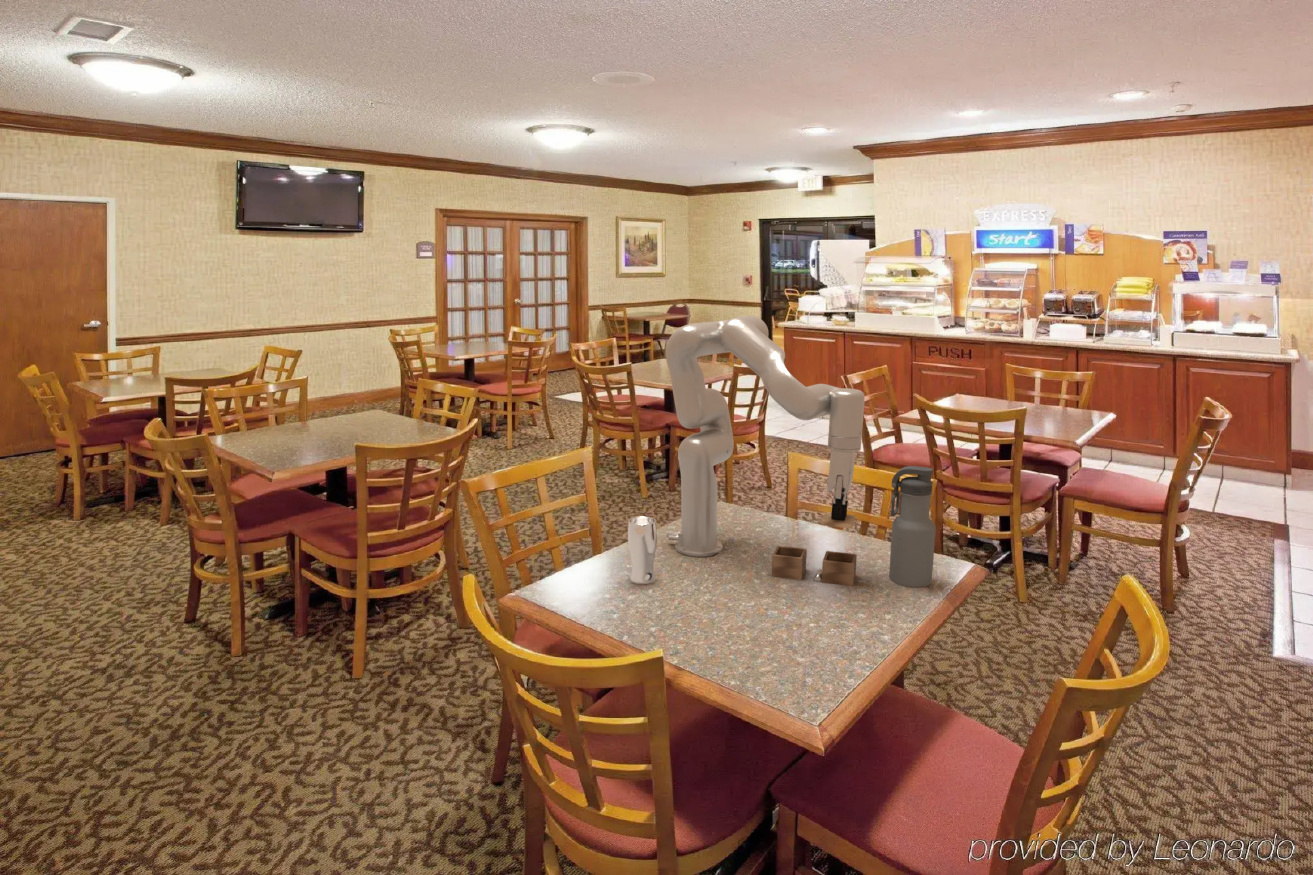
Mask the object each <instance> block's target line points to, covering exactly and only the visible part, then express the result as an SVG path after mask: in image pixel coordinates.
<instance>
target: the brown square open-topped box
mask: <svg viewBox="0 0 1313 875" xmlns="http://www.w3.org/2000/svg"><path fill="white" fill-rule="evenodd" d="M857 557H858V554H857V553H850V552H849V553H848V552H841V551H840V552H839V551H833V550H826V552H825V554H824V557H823V558H822V564H821V565H822V567H821V568H822V569H821V570H822V582H821V583H822V584H830V585H838V586H839V585H840V586H848V587H854V584H855V579H856V576H857Z"/></svg>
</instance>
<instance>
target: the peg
mask: <svg viewBox="0 0 1313 875" xmlns="http://www.w3.org/2000/svg"><path fill="white" fill-rule="evenodd" d="M812 582H815V583H816V582H817V583H822V569H818V570H816V572H815V575H814V577H813V580H812Z"/></svg>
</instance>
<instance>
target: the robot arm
mask: <svg viewBox="0 0 1313 875" xmlns="http://www.w3.org/2000/svg"><path fill="white" fill-rule="evenodd" d="M769 335H770V334H769V329H768V326H767V324H766V323H765V321H764V320H762V319H761V318H760V317H758V316H755V315H746V316H737V317H732V318H731V319H725V320H716V321H706V322H704V321H703V322H695V323H689V324H685V325H683V326H681V327H679V328H677V329H676V330H675V331H674V332H673V333H672V334H671V335H670V336H669V338H668V341H667V343H666V345H665V346H666V348H665V357H666V358H665V359H666V363H667V364H666V365H667V368H668V371H669V376H670V381H671V387H672V388H671V389H672V394H673V399H674V405H675V412H676V417H677V420H678V422H679V424H680V425H681V426H682V427H684V428H685V429H689V430H690V429H691V430H692V429H697V428H698V429H699V428H700V432H696V433H692V434H690V435H688V436H687V437H685V438H684V439H683V440H682V441H681V443H679V446H678V449H677V459H678V464H679V465H678V466H679V471H680V481H681V482H680V483H681V485H680V486H681V487H680V488H681V489H680V490H681V492H680V493H681V498H680V500H681V502H680V504H681V512H680V513H681V517H680V518H681V519H680V520H681V521H680V522H681V530H678V531H674V530H667V531H666V537H667V538H668V540H669V541H676V543H675V550H676V552H678V553H680V554H681V555H685V556H688V557H699V558H701V557H703V558H704V557H705V558H706V557H711V556H714V555H715V556H716V555H718V554H719V553H720V552H722V551H723V546H724V545H723V543H721V541H719V540H718V479H717V475H716V473H715V470H714V466H716V465H719V464H721V463H724V462H726V461H727V460H728V459H729V458H730V457H732V455H733V452H734V445H735V444H734V443H735V442H734V435H733V429H732V423H731V415H730V410H729V409H730V408H729V406H728V403H727V400H726V398H725V397H724V395H723V394H722V393H721V392H720V391H719V390H717V389H715V388H709V387H708V388H706V383H705V377H704V373H703V370H702V368H701V366H700V364H699V363H698V361H697V359H698V358H700V357H706V356H711V355H719V354H725V353H731V354H732V355H733V356H735V357H736V358H737V359H738V360H740V361H741V362H742V363H743V364H745V366H747V367H748V368H749V369H750V370H751V371H752V372H754V373H755V374H756V375H757V376H758V377H759V378H760V379H761V382H762V384H763V386H764V387H765V389H766V391H767V393H768V395H769V396H770V397H771V398H772V399H773V400H774V402H776V404H778V405H779V406H780V407H781V408H782V409H784V410H785V411H786V412H787V413H789V415H791V416H792V417H795V418H796V419H798V420H802V421H811V420H814V419H817V418H819V417H820V418H821V417H824V416H829V422H828V423H829V424H828V435H827V436H828V437H827V449H829V450H831V452H830V459H829V466H828V468H829V469H828V478H827V487H826V490H827V492H831V491H833V500H832V503H831V504H832V505H831V513H832V514H831V519H832V520H840V521H845V517H846V516H847V515H848V505H849V504H848V502H849V501H848V493H849V492H850V489H851V486H852V483H853V478H854V469H855V460H856V459H855V458H856V452H859V451H861V450H862V439H863V426H864V413H865V402H866V401H865V400H866V398H865V393H864V391H862V390H860V389H856V388H849V387H847V388H846V387H845V388H844V387H843V388H841V387H837V386H835V385H834V386H833V385H830V384H827V383H826V384H825V383H817V384H811V385H809V386H808V385H807V386H805V384H803V383H802V382H800V381H799V380H797V378H796V377H794V376H793V374H792V373H790V372H789V370H788V369H787V367H786V365H785V359H786V352H785V351H784V349H783V348H782V347H781V346H780V345H778V344H777V343H775V342H774V341H772V340H771V339H770V338H769Z"/></svg>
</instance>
